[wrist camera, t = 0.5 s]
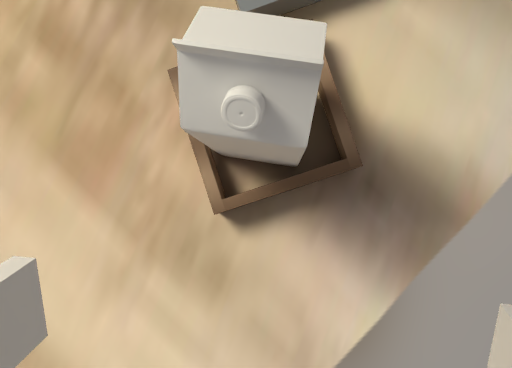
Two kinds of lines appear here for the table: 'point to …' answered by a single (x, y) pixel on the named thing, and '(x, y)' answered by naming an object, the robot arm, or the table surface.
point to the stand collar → (347, 163)
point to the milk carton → (250, 83)
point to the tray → (272, 6)
